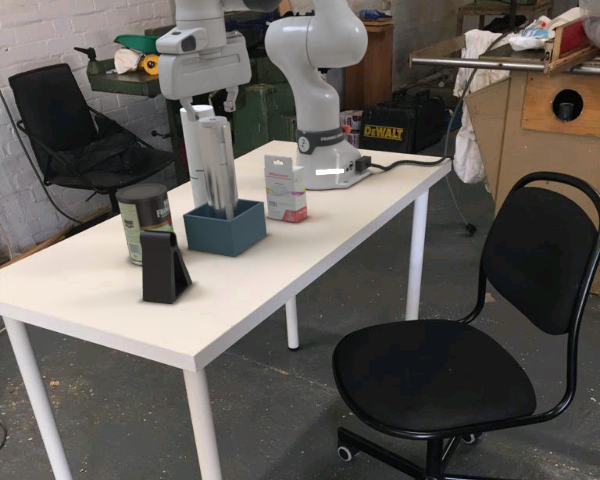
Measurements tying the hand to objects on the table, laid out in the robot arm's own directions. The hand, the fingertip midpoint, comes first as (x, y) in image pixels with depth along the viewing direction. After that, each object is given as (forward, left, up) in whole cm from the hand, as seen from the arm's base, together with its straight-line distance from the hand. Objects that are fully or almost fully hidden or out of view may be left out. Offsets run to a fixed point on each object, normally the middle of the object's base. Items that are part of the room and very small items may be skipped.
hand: (212, 115), depth 127 cm
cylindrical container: (-7, -14, -26) cm, 31 cm away
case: (0, 0, -26) cm, 26 cm away
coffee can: (+15, -7, -26) cm, 31 cm away
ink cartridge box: (-19, 0, -26) cm, 32 cm away
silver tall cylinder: (0, 0, -26) cm, 26 cm away
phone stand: (+24, +10, -26) cm, 37 cm away
